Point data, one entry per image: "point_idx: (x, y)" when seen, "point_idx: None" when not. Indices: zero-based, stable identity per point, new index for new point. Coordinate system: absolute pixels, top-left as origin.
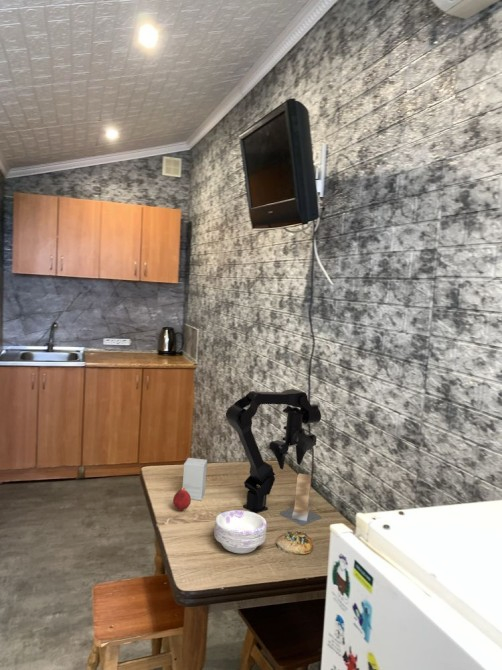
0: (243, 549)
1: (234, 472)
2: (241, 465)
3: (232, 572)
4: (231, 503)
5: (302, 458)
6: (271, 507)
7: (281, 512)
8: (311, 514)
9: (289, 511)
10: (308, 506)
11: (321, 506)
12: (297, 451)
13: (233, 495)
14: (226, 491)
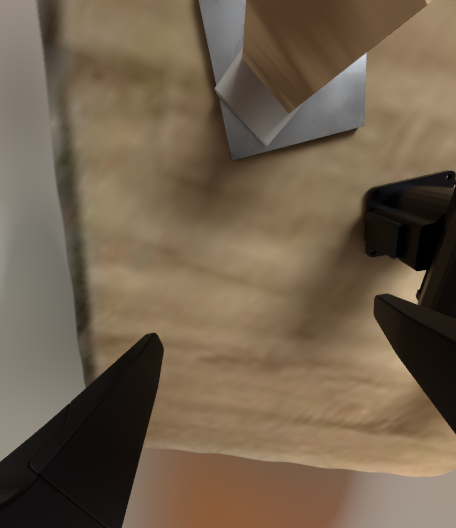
0: None
1: (270, 423)
2: (226, 444)
3: None
4: None
5: (101, 379)
6: (340, 202)
7: (363, 117)
8: (238, 29)
9: (320, 114)
10: (220, 92)
11: (126, 135)
12: (114, 498)
13: None
14: (381, 348)
